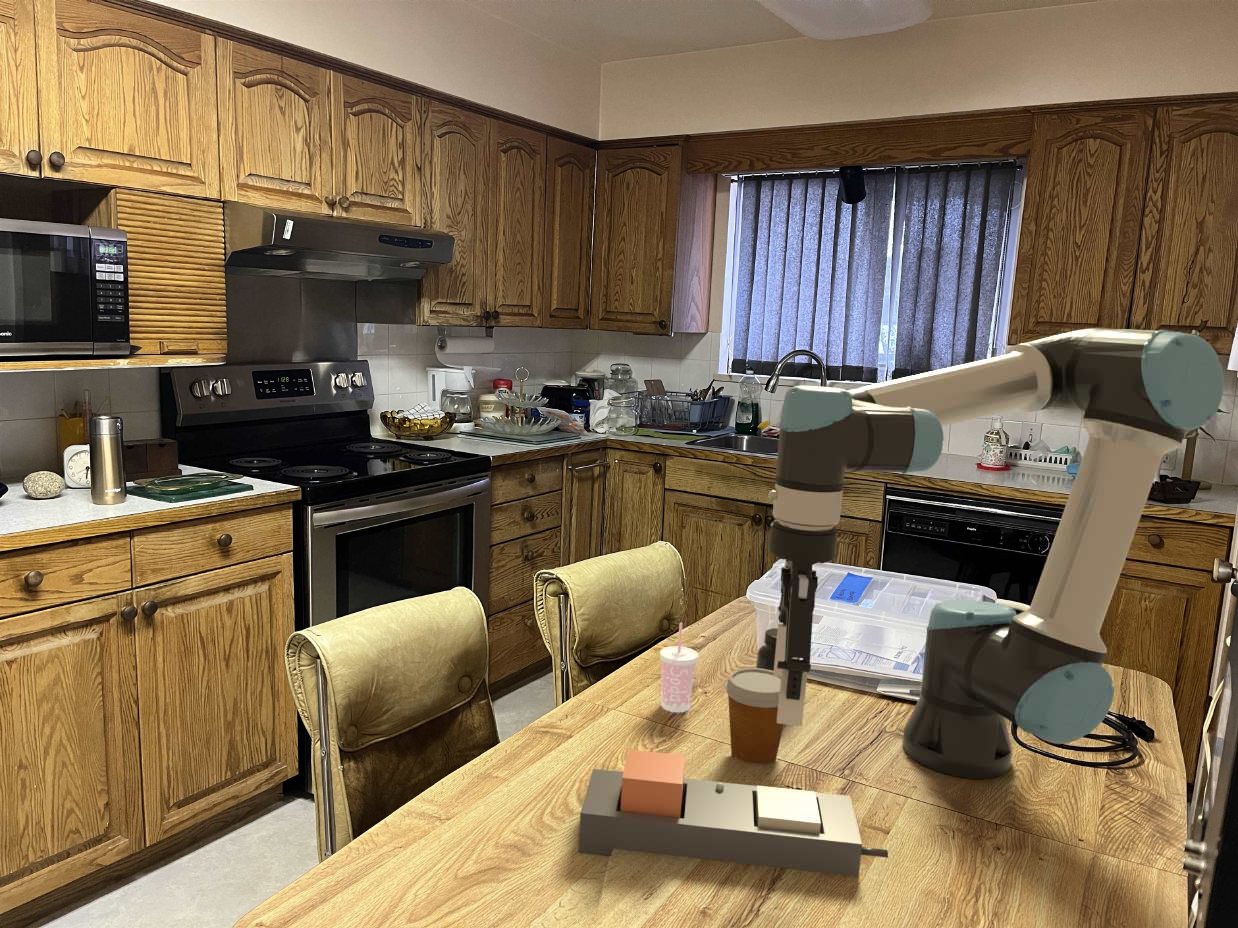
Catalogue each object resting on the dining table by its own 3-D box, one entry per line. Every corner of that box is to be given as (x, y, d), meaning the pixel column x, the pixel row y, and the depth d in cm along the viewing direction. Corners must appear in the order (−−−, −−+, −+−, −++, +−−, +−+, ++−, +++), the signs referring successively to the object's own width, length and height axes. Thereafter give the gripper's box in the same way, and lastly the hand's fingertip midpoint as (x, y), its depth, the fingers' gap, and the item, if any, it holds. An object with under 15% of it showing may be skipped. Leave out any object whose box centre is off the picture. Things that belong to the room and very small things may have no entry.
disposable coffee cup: (786, 779, 126) (793, 697, 124) (716, 769, 128) (722, 688, 126) (787, 748, 135) (794, 671, 133) (723, 739, 137) (728, 663, 135)
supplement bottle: (744, 699, 151) (750, 630, 149) (773, 690, 156) (779, 623, 154) (775, 715, 146) (781, 643, 144) (804, 705, 150) (810, 635, 148)
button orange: (682, 792, 114) (685, 755, 113) (679, 823, 107) (682, 783, 106) (626, 786, 115) (628, 749, 114) (620, 816, 108) (622, 777, 107)
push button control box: (879, 836, 114) (883, 793, 113) (894, 888, 103) (899, 841, 102) (591, 804, 117) (593, 762, 116) (578, 851, 107) (580, 806, 106)
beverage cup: (650, 709, 146) (656, 625, 144) (664, 695, 152) (669, 614, 149) (687, 717, 144) (693, 632, 141) (699, 702, 149) (705, 620, 147)
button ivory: (811, 828, 113) (815, 791, 112) (816, 862, 106) (820, 823, 105) (753, 822, 113) (757, 785, 113) (755, 855, 107) (758, 816, 106)
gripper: (768, 498, 117) (753, 656, 121) (774, 546, 93) (755, 742, 96) (828, 503, 116) (811, 662, 120) (850, 553, 92) (828, 751, 95)
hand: (786, 698), depth 108 cm, fingers open, 13 cm apart
